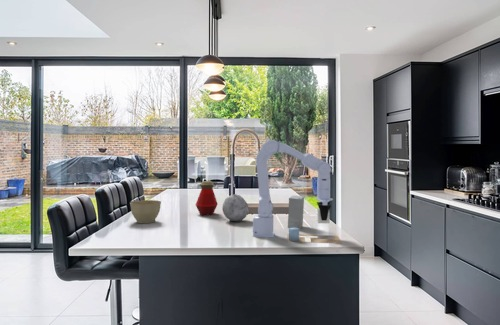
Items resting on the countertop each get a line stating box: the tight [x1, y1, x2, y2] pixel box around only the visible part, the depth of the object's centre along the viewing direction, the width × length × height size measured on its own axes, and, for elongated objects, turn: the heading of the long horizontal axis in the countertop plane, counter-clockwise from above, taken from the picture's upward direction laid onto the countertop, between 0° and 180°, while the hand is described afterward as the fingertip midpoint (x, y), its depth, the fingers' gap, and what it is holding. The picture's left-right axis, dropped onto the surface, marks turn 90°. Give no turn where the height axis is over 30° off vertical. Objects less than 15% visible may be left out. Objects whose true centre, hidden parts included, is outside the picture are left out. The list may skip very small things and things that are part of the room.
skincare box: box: [287, 195, 305, 230], centre depth 182 cm, size 8×7×16 cm
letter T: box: [299, 236, 318, 243], centre depth 158 cm, size 9×10×1 cm
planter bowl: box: [129, 199, 162, 224], centre depth 195 cm, size 16×16×11 cm
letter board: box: [286, 233, 342, 244], centre depth 158 cm, size 23×14×1 cm, turn 83°
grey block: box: [316, 207, 331, 224], centre depth 160 cm, size 5×5×6 cm
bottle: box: [195, 180, 218, 216], centre depth 219 cm, size 16×14×20 cm
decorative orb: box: [221, 193, 250, 222], centre depth 198 cm, size 15×14×15 cm
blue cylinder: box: [288, 228, 300, 243], centre depth 155 cm, size 4×4×5 cm
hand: (323, 219), depth 160 cm, fingers closed on grey block, 5 cm apart
